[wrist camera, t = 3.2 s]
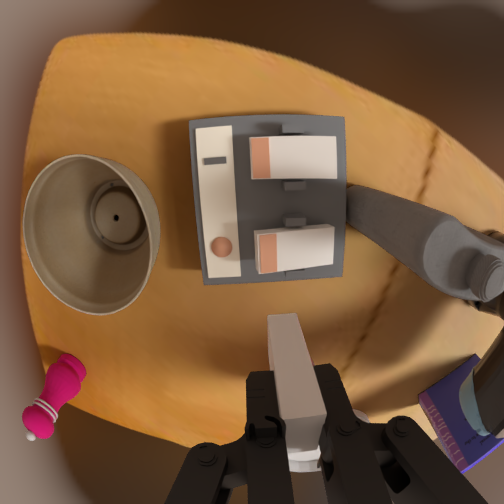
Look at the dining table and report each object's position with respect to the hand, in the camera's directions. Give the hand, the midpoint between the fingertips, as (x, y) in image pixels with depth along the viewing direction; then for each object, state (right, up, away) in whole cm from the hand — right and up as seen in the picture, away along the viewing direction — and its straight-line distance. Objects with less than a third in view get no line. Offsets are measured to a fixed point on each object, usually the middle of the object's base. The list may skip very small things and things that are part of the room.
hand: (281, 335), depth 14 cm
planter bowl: (-18, +9, +18) cm, 27 cm away
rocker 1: (+2, +13, +10) cm, 17 cm away
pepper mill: (-36, -17, +27) cm, 48 cm away
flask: (+16, +9, +19) cm, 26 cm away
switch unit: (0, +11, +17) cm, 21 cm away
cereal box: (+44, -25, +31) cm, 60 cm away
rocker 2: (+3, +5, +13) cm, 14 cm away
